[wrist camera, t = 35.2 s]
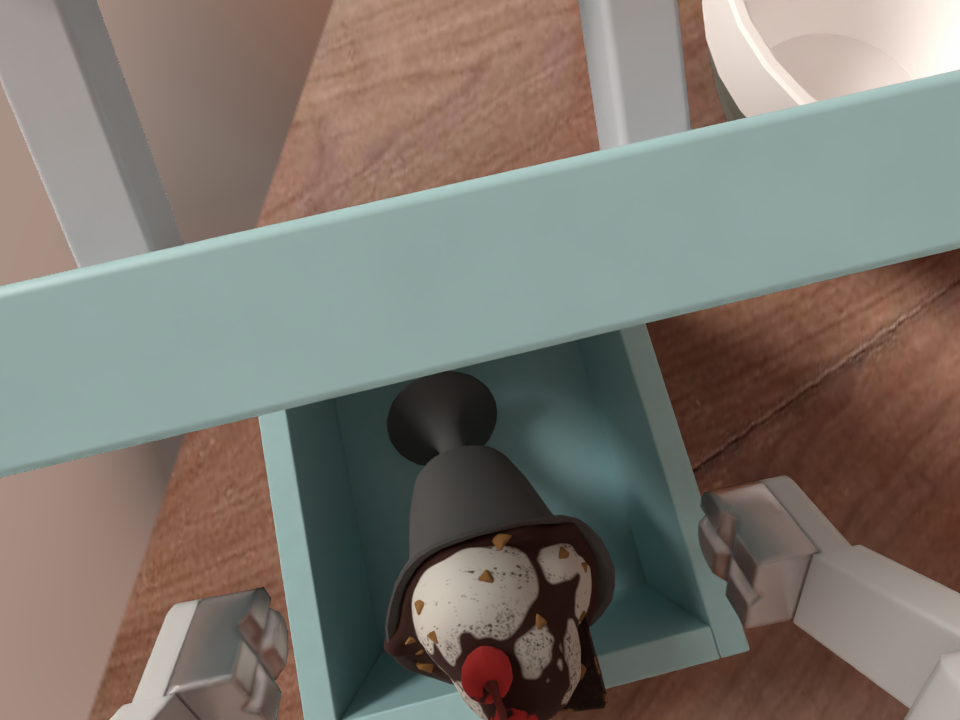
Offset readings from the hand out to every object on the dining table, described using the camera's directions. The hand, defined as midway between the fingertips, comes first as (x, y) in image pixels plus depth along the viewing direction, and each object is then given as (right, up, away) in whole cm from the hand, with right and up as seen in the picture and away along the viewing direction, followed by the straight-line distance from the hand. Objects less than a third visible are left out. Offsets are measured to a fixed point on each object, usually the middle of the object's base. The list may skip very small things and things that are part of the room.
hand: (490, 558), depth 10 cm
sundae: (-2, +1, +14) cm, 14 cm away
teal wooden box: (0, -1, +16) cm, 16 cm away
